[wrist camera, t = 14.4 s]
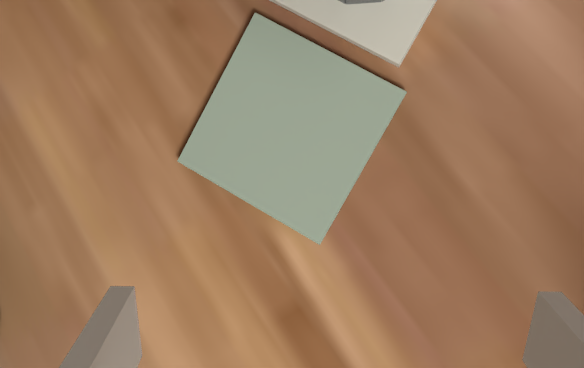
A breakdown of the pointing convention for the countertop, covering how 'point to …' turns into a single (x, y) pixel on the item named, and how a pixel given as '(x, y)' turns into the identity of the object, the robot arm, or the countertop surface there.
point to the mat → (290, 127)
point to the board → (368, 23)
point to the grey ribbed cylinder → (359, 1)
